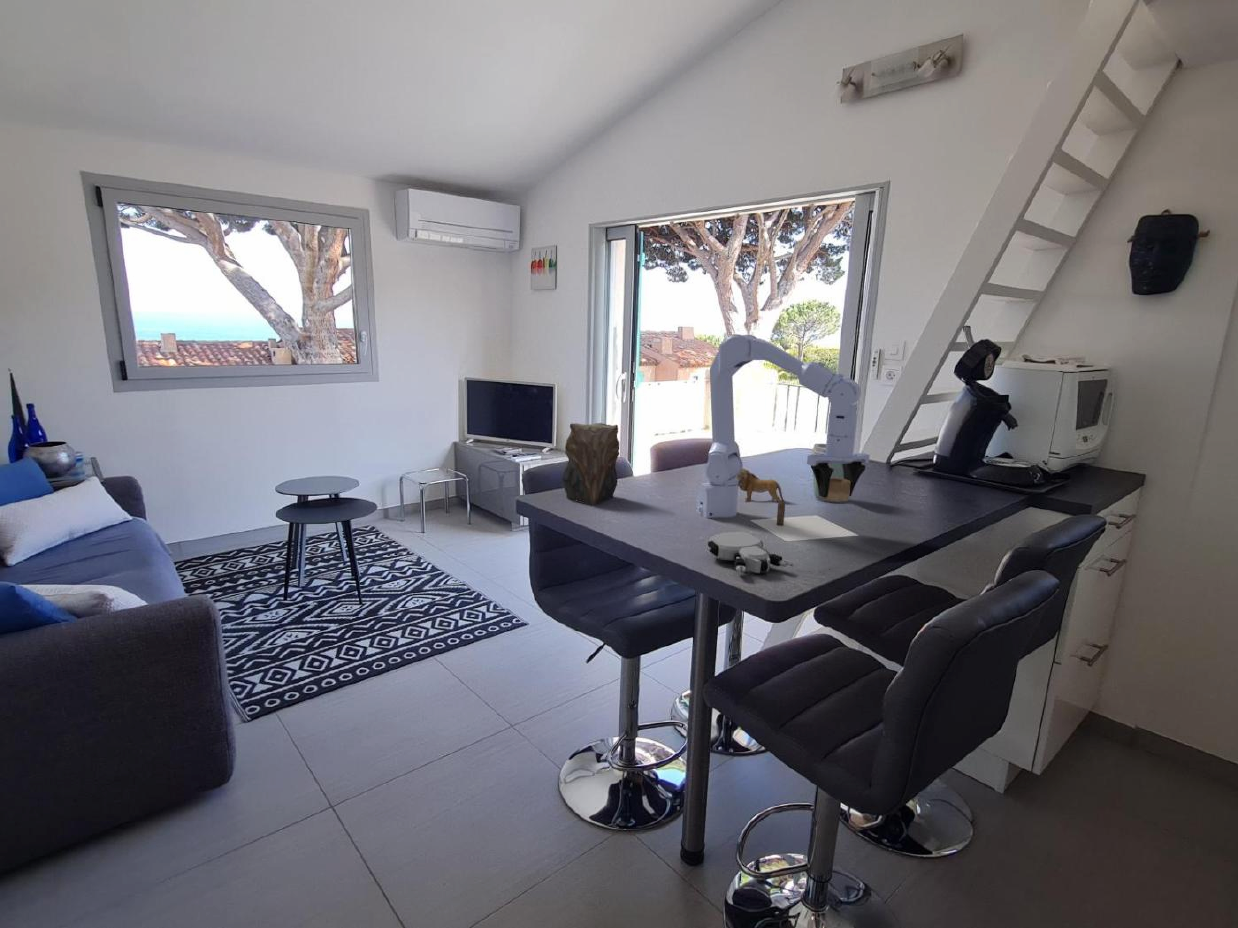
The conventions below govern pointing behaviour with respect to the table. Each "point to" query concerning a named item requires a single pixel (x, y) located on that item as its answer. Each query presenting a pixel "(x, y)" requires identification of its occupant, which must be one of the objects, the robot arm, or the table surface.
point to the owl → (591, 462)
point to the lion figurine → (758, 485)
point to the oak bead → (838, 489)
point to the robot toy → (743, 551)
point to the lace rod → (780, 513)
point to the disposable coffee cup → (837, 467)
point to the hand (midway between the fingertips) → (835, 495)
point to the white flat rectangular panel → (803, 528)
